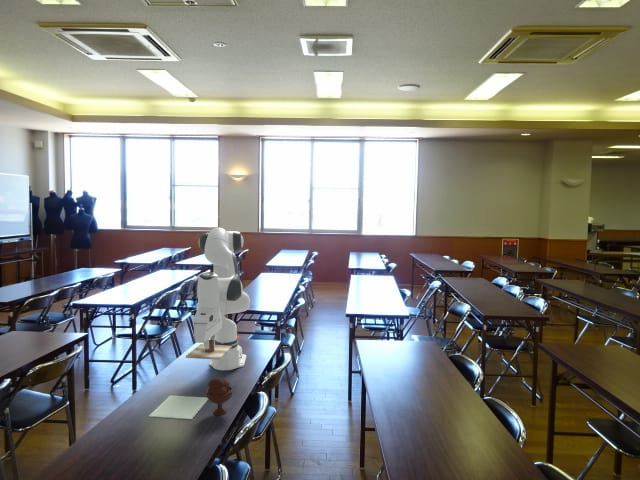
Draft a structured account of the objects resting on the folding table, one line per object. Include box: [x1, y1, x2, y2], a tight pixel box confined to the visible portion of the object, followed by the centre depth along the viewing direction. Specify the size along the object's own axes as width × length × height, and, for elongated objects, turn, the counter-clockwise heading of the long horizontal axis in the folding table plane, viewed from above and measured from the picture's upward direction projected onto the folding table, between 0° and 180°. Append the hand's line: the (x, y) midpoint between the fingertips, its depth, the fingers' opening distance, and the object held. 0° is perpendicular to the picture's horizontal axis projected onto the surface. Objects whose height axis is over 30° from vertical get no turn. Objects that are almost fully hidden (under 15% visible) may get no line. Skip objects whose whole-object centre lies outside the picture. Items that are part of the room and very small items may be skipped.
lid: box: [185, 339, 232, 360], centre depth 170 cm, size 14×14×5 cm
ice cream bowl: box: [205, 376, 234, 416], centre depth 171 cm, size 11×11×15 cm
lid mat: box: [148, 394, 209, 420], centre depth 175 cm, size 18×18×1 cm
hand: (209, 346), depth 170 cm, fingers closed on lid, 4 cm apart
